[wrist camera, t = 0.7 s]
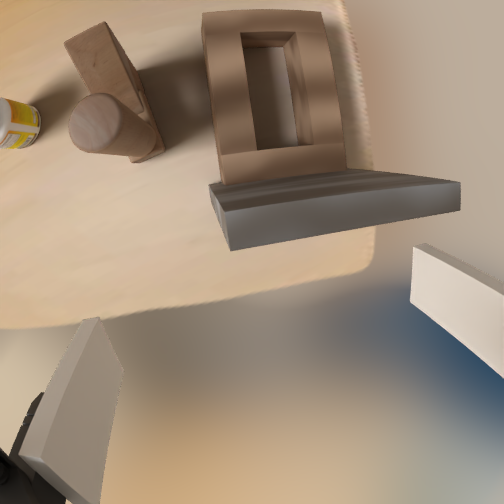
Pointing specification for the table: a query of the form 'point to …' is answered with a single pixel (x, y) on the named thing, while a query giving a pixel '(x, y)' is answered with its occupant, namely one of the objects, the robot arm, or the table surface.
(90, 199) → the table surface
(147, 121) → the wooden block
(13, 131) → the supplement bottle
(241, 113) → the post block
